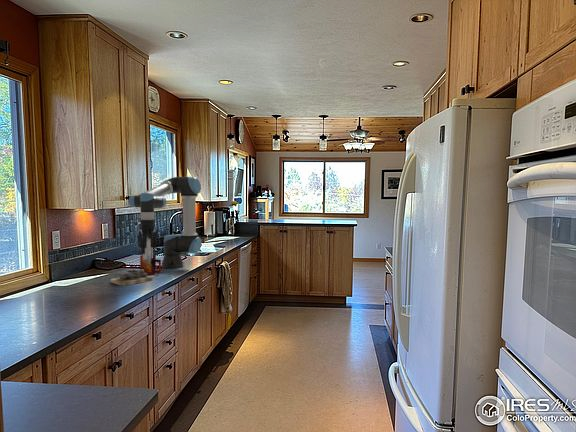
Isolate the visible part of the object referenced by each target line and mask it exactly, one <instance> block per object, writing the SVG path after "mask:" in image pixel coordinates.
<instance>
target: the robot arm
mask: <svg viewBox="0 0 576 432" xmlns="http://www.w3.org/2000/svg"><path fill="white" fill-rule="evenodd" d="M201 190H202V184H201V182H200V180H199V178H197V177H196V176H174V177H171V178H168V179H166V180H164V181H162V182H160V184H158V185H157V186H155V187H153V188H150V189H148V190H146V191H144V192H141V193H140V194H138V195H137V194H134V195H131V196H129V198H128V205H129V206H130V208H135V209H136V208H138V209H139V208H140V211H139V212H140V229H139V230H136V231H135V232H136V236H137V246H138V248H140V249H141V255H143V259H145V260H146V259H147V248H145V246H146V239H147V238H151V258H153V255H154V253H155V252H154V251H155V250H154V249H155V248H156V247H157V245H158V232H159V229H157V228H155V209H162V208H164V207H166V205H167V198H166V197H165V196H166V195H167V196H169V195H170V194H180V197H181V198H182V213H183V214H182V221H183V222H182V225H183V226H182V229H183V230H182V231H183V232H182V233H180V234H179V233H175V234H170V235H169V234H168V235H165V236H164V237H163V258H162V260H161V269H162V268H163V269H179V268H182V267H184V262H183V257H182V254H190V255H191V254H197V253H198V252H199V251H200V250H201V247H202V238H201V237H199V234H198V232H197V230H196V229H197V226H196V225H197V224H196V217H197V215H196V214H197V212H196V211H197V210H196V209H197V208H196V207H197V206H196V204H197V203H196V202H197V201H196V198H198V195H199V194H201V193H200V192H201Z"/></svg>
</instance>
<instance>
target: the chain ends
mask: <svg viewBox="0 0 576 432" xmlns="http://www.w3.org/2000/svg"><path fill="white" fill-rule="evenodd" d="M153 278H154V277H153V276H152V275H148V273H144V269H140V268H139V269H130V270H125V271H117V272H115V278H110V283H111V284H116V285H119V286H122V287H123V286H124V287H126V286H131V285H136V284H141V283H146V282H151V281H154V279H153Z"/></svg>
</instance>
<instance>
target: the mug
mask: <svg viewBox="0 0 576 432" xmlns="http://www.w3.org/2000/svg"><path fill="white" fill-rule="evenodd" d="M157 263H158V270H157ZM139 264H140V265H139V266H140V267H139V269H144V273H148V276H152V275H153V276H155V275H156V274H162V260H161V259H157V255H156V254H153V258H151V262H150V263H145V259H143V254H141V255H140V256H139Z"/></svg>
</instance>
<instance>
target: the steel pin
mask: <svg viewBox="0 0 576 432" xmlns="http://www.w3.org/2000/svg"><path fill="white" fill-rule="evenodd" d="M145 248H147V259H146V260H145V263H150V262H151V238H149V237H147V239H146V246H145Z"/></svg>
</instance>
